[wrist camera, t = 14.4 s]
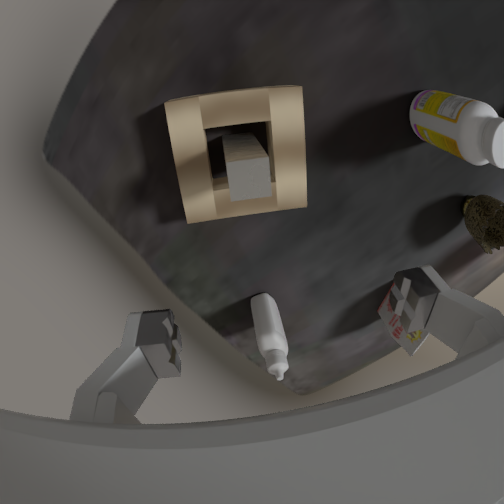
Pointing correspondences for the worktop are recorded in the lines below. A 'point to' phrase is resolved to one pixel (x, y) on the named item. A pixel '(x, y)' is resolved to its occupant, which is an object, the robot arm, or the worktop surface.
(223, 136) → the metal peg
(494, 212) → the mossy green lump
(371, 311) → the worktop surface
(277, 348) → the eye dropper bottle
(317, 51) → the worktop surface
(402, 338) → the white and red box
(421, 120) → the supplement bottle
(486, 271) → the worktop surface
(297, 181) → the tan square ring
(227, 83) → the worktop surface
